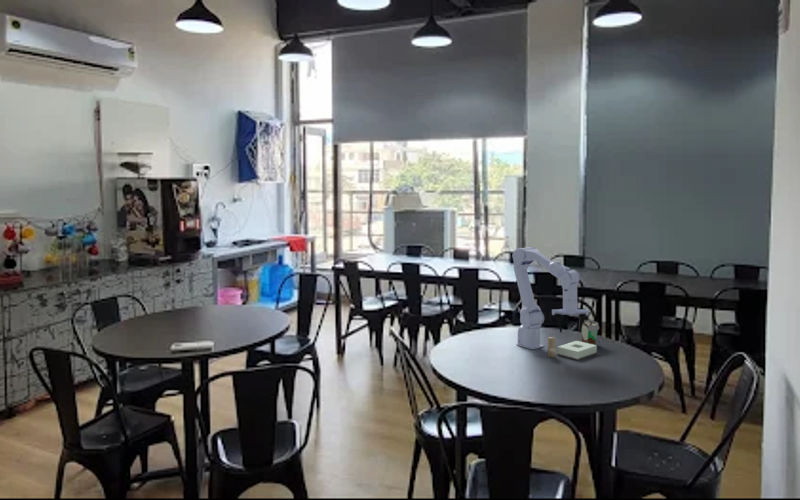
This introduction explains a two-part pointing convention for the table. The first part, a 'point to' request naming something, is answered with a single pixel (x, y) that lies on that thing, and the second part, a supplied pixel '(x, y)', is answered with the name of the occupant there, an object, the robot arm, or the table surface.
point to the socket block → (577, 350)
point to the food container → (589, 332)
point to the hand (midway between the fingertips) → (570, 331)
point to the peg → (551, 347)
